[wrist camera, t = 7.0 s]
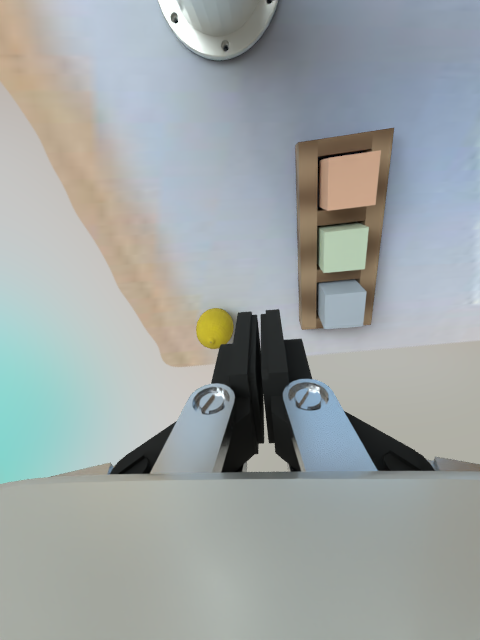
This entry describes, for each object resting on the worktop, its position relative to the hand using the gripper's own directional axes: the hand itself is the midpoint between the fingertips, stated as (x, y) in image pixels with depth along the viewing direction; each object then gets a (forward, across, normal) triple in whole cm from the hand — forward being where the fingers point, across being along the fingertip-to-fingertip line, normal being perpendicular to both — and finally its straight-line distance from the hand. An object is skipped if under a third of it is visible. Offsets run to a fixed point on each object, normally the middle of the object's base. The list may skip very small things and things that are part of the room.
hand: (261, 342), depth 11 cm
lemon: (+29, +8, +13) cm, 33 cm away
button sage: (+29, -10, +3) cm, 31 cm away
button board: (+29, -10, +3) cm, 31 cm away
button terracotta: (+27, -10, -5) cm, 30 cm away
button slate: (+27, -10, +11) cm, 31 cm away
